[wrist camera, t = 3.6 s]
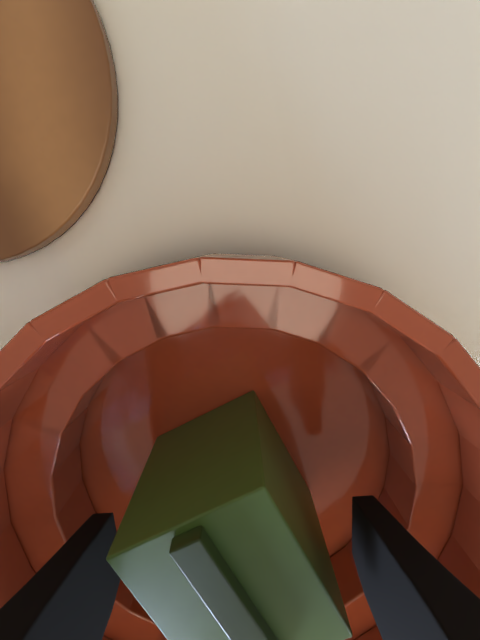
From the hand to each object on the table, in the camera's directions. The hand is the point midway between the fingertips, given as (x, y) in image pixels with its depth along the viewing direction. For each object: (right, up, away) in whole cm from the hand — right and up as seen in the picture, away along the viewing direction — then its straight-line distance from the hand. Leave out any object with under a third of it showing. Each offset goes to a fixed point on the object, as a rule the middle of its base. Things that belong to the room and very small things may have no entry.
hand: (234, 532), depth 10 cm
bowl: (0, +1, +4) cm, 4 cm away
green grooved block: (0, +1, +3) cm, 3 cm away
